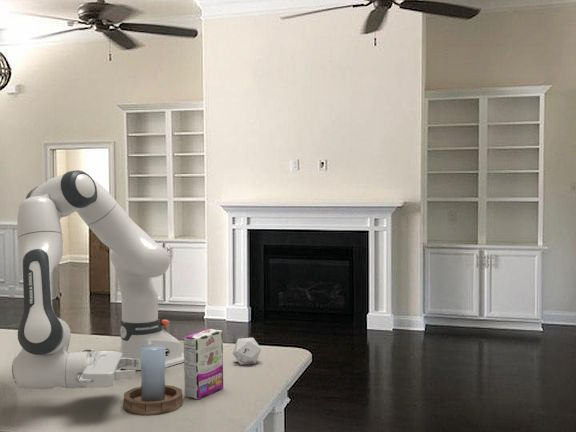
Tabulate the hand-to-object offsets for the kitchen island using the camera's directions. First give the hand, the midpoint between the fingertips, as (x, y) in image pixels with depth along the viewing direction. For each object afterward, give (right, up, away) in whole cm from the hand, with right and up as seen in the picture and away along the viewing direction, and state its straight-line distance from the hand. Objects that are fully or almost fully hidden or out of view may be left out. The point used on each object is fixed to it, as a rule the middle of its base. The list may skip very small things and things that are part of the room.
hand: (137, 367), depth 161 cm
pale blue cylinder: (+4, -9, +1) cm, 10 cm away
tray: (+4, -10, +1) cm, 10 cm away
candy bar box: (+16, -10, +10) cm, 21 cm away
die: (+25, -8, +40) cm, 48 cm away
